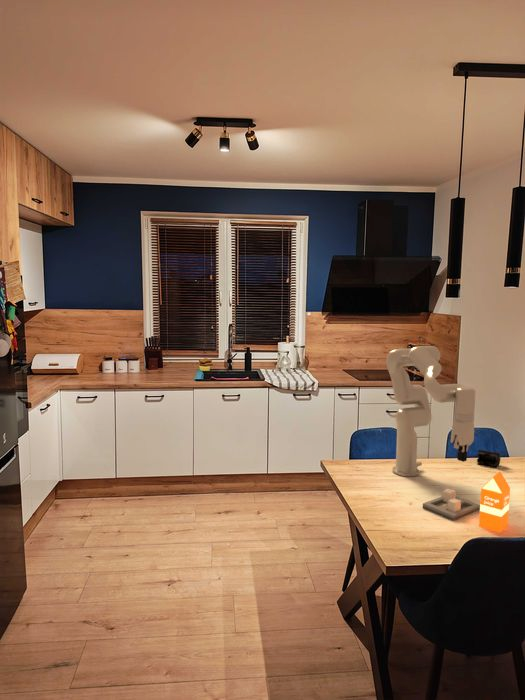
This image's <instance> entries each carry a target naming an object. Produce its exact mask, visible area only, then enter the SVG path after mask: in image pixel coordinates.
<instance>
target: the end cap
mask: <svg viewBox="0 0 525 700" xmlns="http://www.w3.org/2000/svg"><path fill="white" fill-rule="evenodd" d="M476 456H477V459H476V462H477V466H481V467H487V468H490V469H491V468H492V469H497V468H498V467H499V466H500V463H501V459H502V458H501V453H500V452H499V453H498V452H492V451H488V450H482V449H478V453H477V454H476Z"/></svg>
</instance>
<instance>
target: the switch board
mask: <svg viewBox="0 0 525 700" xmlns="http://www.w3.org/2000/svg"><path fill="white" fill-rule="evenodd" d="M455 499H458V500H460V501H461V510H460V511H457V512H455V513H453V512H451V511H448V503H447V502H444V501H443V495H442V496H440V497H436V498H433V499H431V500H428V501H426V502H423V503H422V509H424V510H426V511H429V512H430V513H434V514H436V515H438V516H441V517H443V518H446V519H448V520H450V521H452V522H453V521H457V520H460V519H462V518H464V517H466V516H468V515H472V514H473V513H475V512H478V511H480V504H479V503H477V502H473V501H470V500H468V499H465V498H462V497H461V496H457V495H456V496H455Z"/></svg>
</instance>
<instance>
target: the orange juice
mask: <svg viewBox="0 0 525 700" xmlns="http://www.w3.org/2000/svg"><path fill="white" fill-rule="evenodd" d="M510 492H511V487H510V485H509V483H508V482H507V481H506V478H505V477H504V475H503V474H502V472H501V471H499V472H497V473H495V474H494V476H491V478H490V479H489V480H488V481H487V482H486V483H485V484H484V485H483V486H482V487H481V488H480V504H479V505H480V510H479V520H478V521H479V523H478V526H479V527H481V528H483V529H486V530H487V529H488V530H490V531H493V532H497V533H502V532H503V530H505V528H506V527H508V525H509V511H510V496H511V495H510V494H511V493H510Z"/></svg>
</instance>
